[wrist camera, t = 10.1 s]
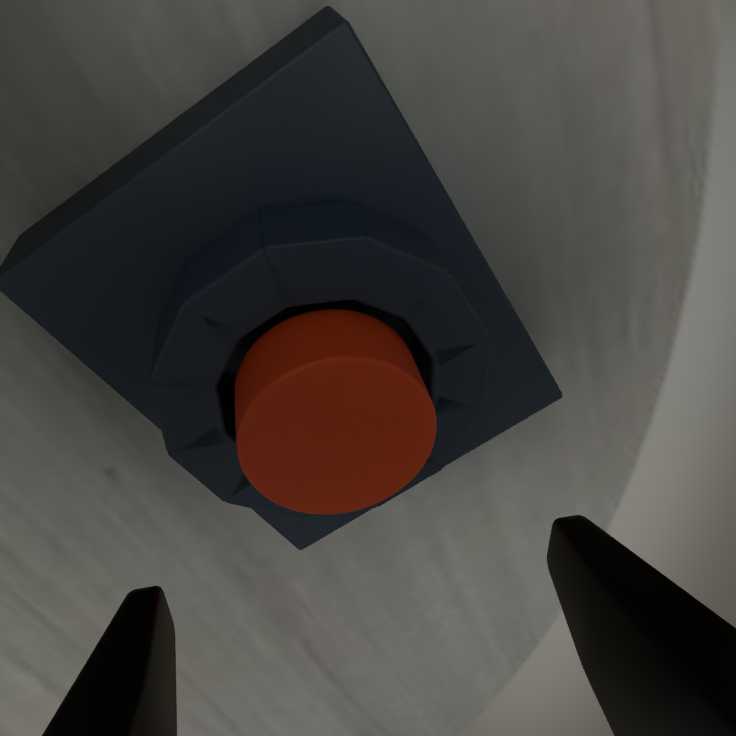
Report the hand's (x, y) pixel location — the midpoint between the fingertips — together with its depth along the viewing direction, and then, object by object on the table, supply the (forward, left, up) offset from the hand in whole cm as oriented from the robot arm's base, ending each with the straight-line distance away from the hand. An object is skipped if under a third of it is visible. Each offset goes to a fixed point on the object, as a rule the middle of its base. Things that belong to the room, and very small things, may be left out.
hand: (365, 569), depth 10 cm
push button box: (0, 0, -8) cm, 8 cm away
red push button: (0, 0, -5) cm, 5 cm away
